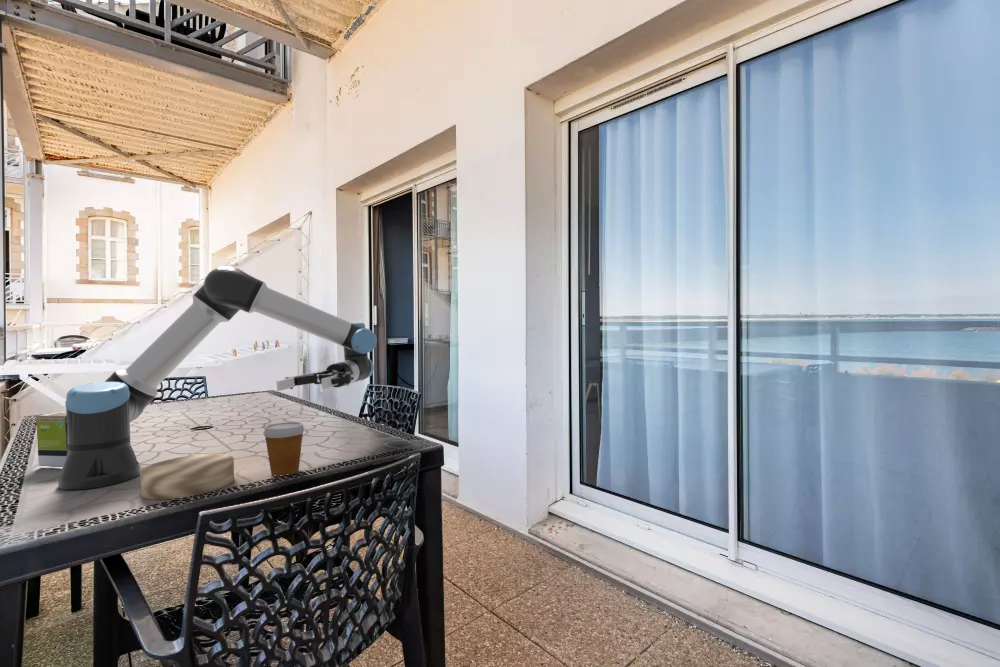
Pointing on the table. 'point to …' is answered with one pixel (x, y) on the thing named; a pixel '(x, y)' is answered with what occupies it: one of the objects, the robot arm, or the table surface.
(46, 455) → the tea box
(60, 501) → the table surface
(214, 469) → the wooden plinth
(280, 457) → the disposable coffee cup
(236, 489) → the table surface
